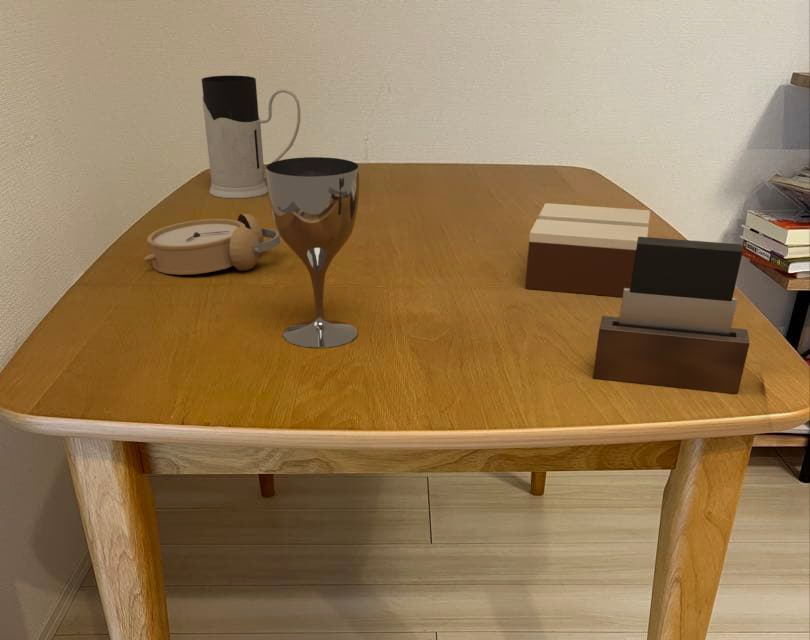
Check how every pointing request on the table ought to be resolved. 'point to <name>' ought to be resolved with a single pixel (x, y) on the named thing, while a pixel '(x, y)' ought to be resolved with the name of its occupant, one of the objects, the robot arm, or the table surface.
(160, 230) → the alarm clock
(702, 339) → the block
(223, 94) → the glass holder
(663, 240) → the dough scraper
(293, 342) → the wine glass
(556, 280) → the cake near
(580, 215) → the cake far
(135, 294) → the table surface
